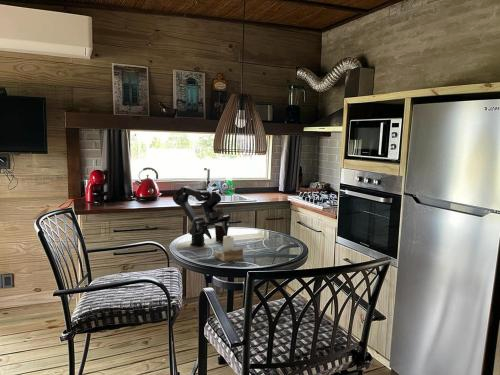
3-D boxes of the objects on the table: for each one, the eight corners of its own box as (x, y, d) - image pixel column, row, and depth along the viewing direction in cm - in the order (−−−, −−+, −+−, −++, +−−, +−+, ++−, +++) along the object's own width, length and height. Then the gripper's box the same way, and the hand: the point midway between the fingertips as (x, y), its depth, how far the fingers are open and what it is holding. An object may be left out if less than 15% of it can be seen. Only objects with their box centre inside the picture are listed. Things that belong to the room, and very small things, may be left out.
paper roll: (220, 257, 202) (221, 235, 201) (228, 255, 206) (229, 234, 204) (226, 259, 198) (227, 238, 197) (234, 258, 202) (235, 236, 201)
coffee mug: (220, 237, 241) (221, 221, 240) (231, 240, 236) (231, 224, 234) (207, 240, 232) (208, 224, 231) (217, 243, 227) (218, 227, 226)
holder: (214, 257, 202) (214, 247, 201) (230, 253, 209) (231, 244, 209) (225, 262, 195) (226, 252, 194) (242, 258, 202) (242, 249, 201)
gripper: (196, 208, 202) (206, 235, 196) (228, 201, 210) (238, 226, 205) (192, 217, 211) (201, 243, 205) (223, 209, 219) (232, 234, 214)
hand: (219, 236), depth 207 cm, fingers open, 9 cm apart
